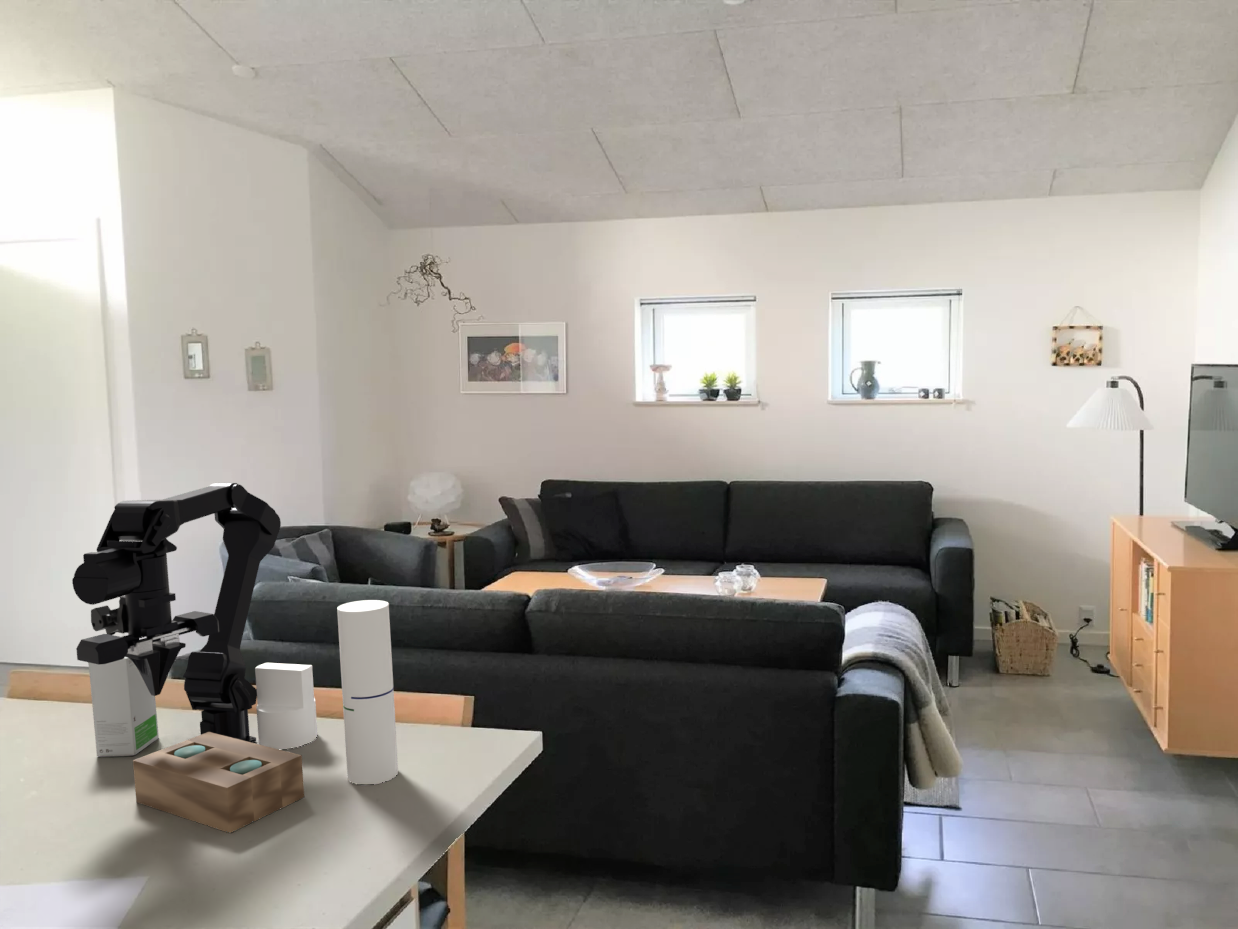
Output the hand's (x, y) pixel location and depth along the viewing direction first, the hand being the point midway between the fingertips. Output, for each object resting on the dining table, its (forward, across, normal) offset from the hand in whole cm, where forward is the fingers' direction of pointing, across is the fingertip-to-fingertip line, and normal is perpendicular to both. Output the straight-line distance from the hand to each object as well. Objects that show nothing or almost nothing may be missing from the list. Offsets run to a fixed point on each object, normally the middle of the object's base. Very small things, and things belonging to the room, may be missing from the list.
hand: (155, 694), depth 142 cm
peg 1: (+13, 0, +7) cm, 15 cm away
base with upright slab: (+13, -20, +3) cm, 24 cm away
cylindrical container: (+13, -16, +26) cm, 33 cm away
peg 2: (+13, 0, +19) cm, 23 cm away
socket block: (+13, 0, +13) cm, 18 cm away
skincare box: (+13, -6, -18) cm, 23 cm away
